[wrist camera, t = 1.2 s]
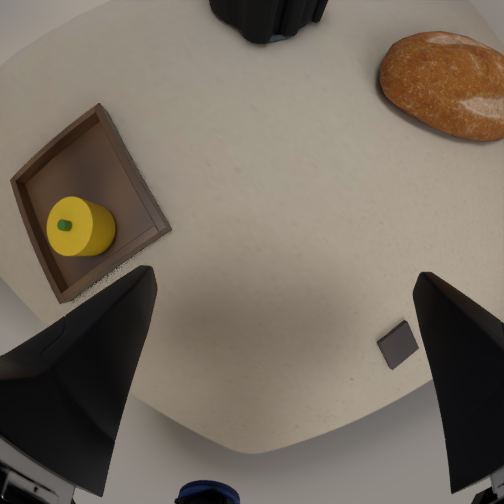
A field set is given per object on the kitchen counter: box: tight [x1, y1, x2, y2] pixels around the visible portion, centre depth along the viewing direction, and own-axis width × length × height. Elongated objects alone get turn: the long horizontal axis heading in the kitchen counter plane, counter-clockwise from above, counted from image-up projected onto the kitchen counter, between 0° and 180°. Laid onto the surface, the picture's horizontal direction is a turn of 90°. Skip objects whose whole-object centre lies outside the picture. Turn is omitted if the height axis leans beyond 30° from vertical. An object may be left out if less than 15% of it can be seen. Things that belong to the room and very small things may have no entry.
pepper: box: [47, 196, 115, 256], centre depth 23 cm, size 5×5×7 cm
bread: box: [379, 31, 504, 141], centre depth 25 cm, size 18×35×9 cm, turn 108°
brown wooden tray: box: [10, 103, 172, 304], centre depth 25 cm, size 14×16×2 cm
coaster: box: [377, 320, 419, 370], centre depth 28 cm, size 4×4×1 cm
